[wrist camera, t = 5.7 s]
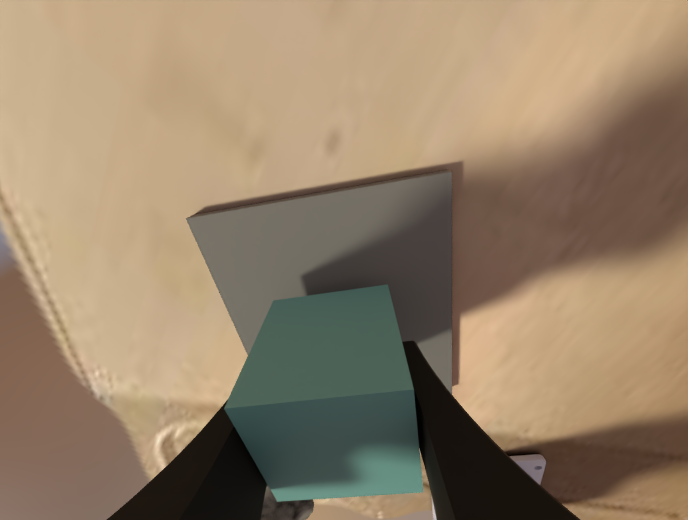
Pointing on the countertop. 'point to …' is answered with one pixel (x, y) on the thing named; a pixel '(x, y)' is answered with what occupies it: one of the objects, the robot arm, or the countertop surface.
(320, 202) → the charcoal mat
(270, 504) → the dark grey chess piece
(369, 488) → the teal cube
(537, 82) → the countertop surface
